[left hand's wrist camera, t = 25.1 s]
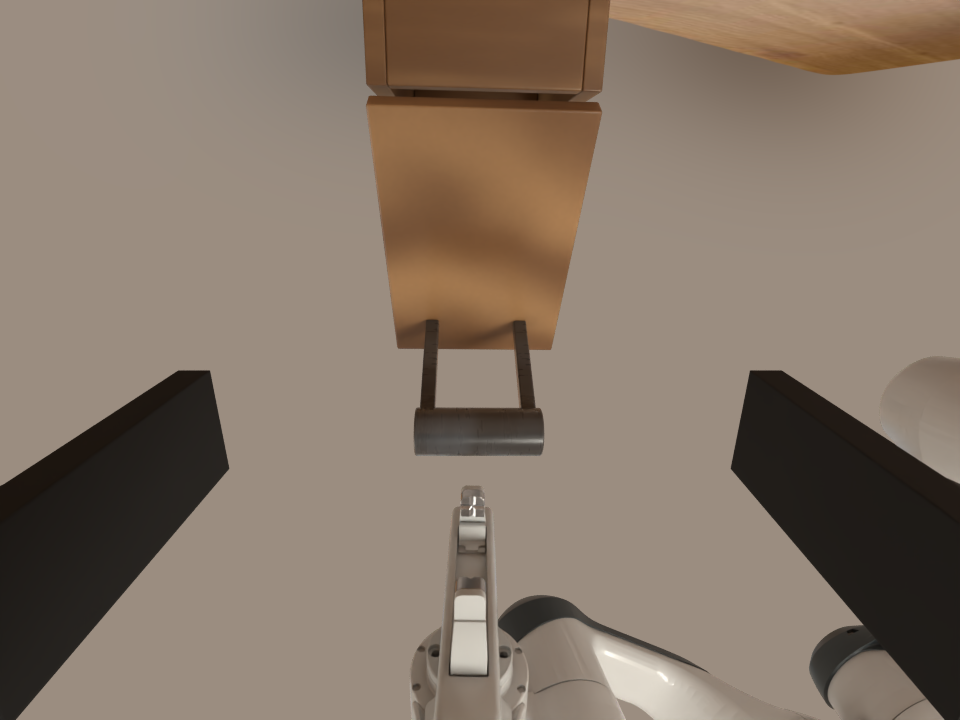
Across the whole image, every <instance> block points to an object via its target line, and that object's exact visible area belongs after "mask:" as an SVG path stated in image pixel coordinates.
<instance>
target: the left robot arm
mask: <svg viewBox="0 0 960 720" xmlns="http://www.w3.org/2000/svg"><path fill="white" fill-rule="evenodd" d="M228 470H229V465H228V460H227V455H226V450H225V445H224V440H223V434H222V429H221V424H220V419H219V414H218V409H217V404H216V399H215V394H214V389H213V384H212V379H211V374H210V371H177V372H175V373H174V374H172V375H171V376H169V377H168V378H166V379H165V380H163V381H162V382H160V383H158V384H157V385H155V386H154V387H152V388H151V389H149V390H148V391H146V392H145V393H143V394H142V395H140V396H139V397H137V398H135V399H134V400H132V401H131V402H129V403H128V404H126V405H125V406H123V407H122V408H120V409H119V410H117V411H116V412H114V413H113V414H111V415H109V416H108V417H106V418H105V419H103V420H102V421H100V422H99V423H97V424H96V425H94V426H92V427H91V428H89V429H88V430H86V431H85V432H83V433H82V434H80V435H79V436H77V437H76V438H74V439H73V440H71V441H70V442H68V443H66V444H65V445H63V446H62V447H60V448H59V449H57V450H56V451H54V452H53V453H51V454H50V455H48V456H46V457H45V458H43V459H42V460H40V461H39V462H37V463H36V464H34V465H33V466H31V467H30V468H28V469H27V470H25V471H23V472H22V473H20V474H19V475H17V476H16V477H14V478H13V479H11V480H10V481H8V482H7V483H5V484H3V485H1V486H0V720H16V719H17V718H18V716H19V715H20V714H21V713H22V712H23V710H24V709H25V708H26V707H27V706H28V705H29V703H30V702H31V701H32V700H33V699H34V698H35V696H36V695H37V694H38V693H39V692H40V690H41V689H42V688H43V687H44V686H45V685H46V683H47V682H48V681H49V680H50V679H51V678H52V676H53V675H54V674H55V673H56V672H57V671H58V669H59V668H60V667H61V666H62V665H63V663H64V662H65V661H66V660H67V659H68V658H69V656H70V655H71V654H72V653H73V652H74V651H75V649H76V648H77V647H78V646H79V645H80V643H81V642H82V641H83V640H84V639H85V638H86V636H87V635H88V634H89V633H90V632H91V631H92V629H93V628H94V627H95V626H96V625H97V624H98V622H99V621H100V620H101V619H102V618H103V616H104V615H105V614H106V613H107V612H108V611H109V609H110V608H111V607H112V606H113V605H114V604H115V602H116V601H117V600H118V599H119V598H120V596H121V595H122V594H123V593H124V592H125V591H126V589H127V588H128V587H129V586H130V585H131V584H132V582H133V581H134V580H135V579H136V578H137V577H138V575H139V574H140V573H141V572H142V571H143V569H144V568H145V567H146V566H147V565H148V564H149V562H150V561H151V560H152V559H153V558H154V557H155V555H156V554H157V553H158V552H159V551H160V549H161V548H162V547H163V546H164V545H165V544H166V542H167V541H168V540H169V539H170V538H171V537H172V535H173V534H174V533H175V532H176V531H177V529H178V528H179V527H180V526H181V525H182V524H183V522H184V521H185V520H186V519H187V518H188V517H189V515H190V514H191V513H192V512H193V511H194V510H195V508H196V507H197V506H198V505H199V504H200V502H201V501H202V500H203V499H204V498H205V497H206V495H207V494H208V493H209V492H210V491H211V490H212V488H213V487H214V486H215V485H216V484H217V482H218V481H219V480H220V479H221V478H222V477H223V475H224V474H225V473H226V472H227V471H228ZM731 470H732V471H733V472H734V473H735V474H736V475H737V477H738V478H739V479H740V480H741V481H742V482H743V484H744V485H745V486H746V487H747V488H748V490H749V491H750V492H751V493H752V494H753V495H754V497H755V498H756V499H757V500H758V501H759V502H760V504H761V505H762V506H763V507H764V508H765V510H766V511H767V512H768V513H769V514H770V515H771V517H772V518H773V519H774V520H775V521H776V522H777V524H778V525H779V526H780V527H781V528H782V529H783V531H784V532H785V533H786V534H787V535H788V537H789V538H790V539H791V540H792V541H793V542H794V544H795V545H796V546H797V547H798V548H799V549H800V551H801V552H802V553H803V554H804V555H805V557H806V558H807V559H808V560H809V561H810V562H811V564H812V565H813V566H814V567H815V568H816V569H817V571H818V572H819V573H820V574H821V575H822V577H823V578H824V579H825V580H826V581H827V582H828V584H829V585H830V586H831V587H832V588H833V589H834V591H835V592H836V593H837V594H838V595H839V596H840V598H841V599H842V600H843V601H844V602H845V604H846V605H847V606H848V607H849V608H850V609H851V611H852V612H853V613H854V614H855V615H856V616H857V618H858V619H859V620H860V621H861V622H862V624H863V625H864V626H865V627H866V628H867V629H868V631H869V632H870V633H871V634H872V635H873V636H874V638H875V639H876V640H877V641H878V642H879V643H880V645H881V646H882V647H883V648H884V649H885V651H886V652H887V653H888V654H889V655H890V656H891V658H892V659H893V660H894V661H895V662H896V663H897V665H898V666H899V667H900V668H901V669H902V671H903V672H904V673H905V674H906V675H907V676H908V678H909V679H910V680H911V681H912V682H913V683H914V685H915V686H916V687H917V688H918V689H919V691H920V692H921V693H922V694H923V695H924V696H925V698H926V699H927V700H928V701H929V702H930V703H931V705H932V706H933V707H934V708H935V709H936V710H937V712H938V713H939V714H940V715H941V716H942V718H943V719H944V720H960V484H959V483H957V482H955V481H953V480H950V479H948V478H946V477H944V476H943V475H941V474H940V473H938V472H937V471H935V470H933V469H932V468H930V467H929V466H927V465H926V464H924V463H923V462H921V461H920V460H918V459H917V458H915V457H914V456H912V455H910V454H909V453H907V452H906V451H904V450H903V449H901V448H900V447H898V446H897V445H895V444H894V443H892V442H891V441H889V440H887V439H886V438H884V437H883V436H881V435H880V434H878V433H877V432H875V431H874V430H872V429H870V428H869V427H868V426H866V425H864V424H863V423H861V422H860V421H858V420H857V419H855V418H854V417H852V416H851V415H849V414H848V413H846V412H844V411H843V410H841V409H840V408H838V407H837V406H835V405H834V404H832V403H831V402H829V401H828V400H826V399H825V398H823V397H821V396H820V395H818V394H817V393H815V392H814V391H812V390H811V389H809V388H808V387H806V386H804V385H803V384H802V383H800V382H798V381H797V380H795V379H794V378H792V377H791V376H789V375H788V374H786V373H785V372H783V371H750V374H749V379H748V384H747V389H746V394H745V399H744V404H743V409H742V414H741V419H740V424H739V430H738V435H737V440H736V445H735V450H734V455H733V460H732V465H731Z"/></svg>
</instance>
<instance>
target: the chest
mask: <svg viewBox="0 0 960 720" xmlns="http://www.w3.org/2000/svg"><path fill="white" fill-rule="evenodd" d="M362 2H363V23H364V43H365V65H366V84H367V85H368V86H369V88H371V90H372V91H373V92H374V93H375V94H376V95H377V96H398V97H432V98H466V99H501V100H535V101H569V102H586V101H587V100H589V99H591V98H592V97H594V96H595V95H597V94H599V93H600V92H601V91H602V85H603V74H604V62H605V51H606V40H607V29H608V18H609V7H610V0H362Z"/></svg>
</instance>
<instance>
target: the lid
mask: <svg viewBox="0 0 960 720" xmlns="http://www.w3.org/2000/svg"><path fill="white" fill-rule="evenodd" d="M366 109H367V117H368V125H369V132H370V140H371V148H372V155H373V163H374V171H375V178H376V186H377V194H378V202H379V209H380V217H381V224H382V232H383V240H384V248H385V255H386V263H387V271H388V278H389V286H390V294H391V301H392V309H393V317H394V324H395V332H396V340H397V347H398V348H399V349H424V358H423V373H422V388H421V402H420V408H416V410H415V418H414V451H415V455H416V456H540V455H541V454H542V451H543V446H544V421H543V414H542V411H541V409H540V408H536V407H535V398H534V389H533V381H532V371H531V363H530V354H529V350H551V348H552V343H553V338H554V334H555V329H556V325H557V320H558V315H559V311H560V306H561V301H562V297H563V292H564V287H565V283H566V278H567V273H568V269H569V264H570V259H571V255H572V250H573V246H574V241H575V236H576V232H577V227H578V222H579V218H580V213H581V208H582V204H583V199H584V194H585V190H586V185H587V181H588V176H589V171H590V167H591V162H592V157H593V153H594V148H595V143H596V139H597V134H598V129H599V125H600V120H601V115H602V110H601V108H600V105H599V103H597V102H569V101H535V100H501V99H466V98H432V97H398V96H369V98H368V101H367V104H366ZM438 349H504V350H514V352H515V363H516V375H517V386H518V397H519V408H436V387H437V364H438Z"/></svg>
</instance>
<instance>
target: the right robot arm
mask: <svg viewBox="0 0 960 720" xmlns="http://www.w3.org/2000/svg"><path fill="white" fill-rule="evenodd" d="M879 416H880V423H881V426H882V428H883V430H884V431H885V433H886V434H887V435H888V436H889V437H890V438H891V439H892V441H893V442H894V443H895V444H896V445H897V446H898V447H900V448H901V449H903V450H904V451H906V452H907V453H909V454H910V455H912V456H914V457H915V458H917V459H918V460H920V461H921V462H923V463H924V464H926V465H927V466H929V467H930V468H932V469H933V470H935V471H937V472H938V473H940V474H941V475H943V476H944V477H946V478H948V479H950V480H953V481H955V482H957V483H959V484H960V358H952V357H943V356H933V357H927V358H924V359H921V360H919V361H916V362H914V363H912V364H910V365H909V366H907V367H906V368H904V369H903V370H902V371H900V372H899V373H898V374H897V375H896V376H894V378H893V379H892V380H891V381H890V382H889V384H888V385H887V387H886V388H885V390H884V392H883V395H882V397H881V401H880V407H879ZM484 501H485V491H484V488H483V487H481V486H464V487H463V488H462V490H461V506H460V507H456V508H454V510H453V512H452V518H451V528H450V540H449V552H448V563H447V574H446V585H445V597H444V608H443V620H442V626H441V627H440V628H439V629H437V630H436V631H434V632H433V633H431V634H430V635H429V636H428V637H427V638H426V639H425V640H424V641H423V642H422V643H421V644H420V646H419V647H418V649H417V651H416V652H415V654H414V657H413V660H412V663H411V668H410V695H411V720H626V719H625V717H624V715H623V712H622V710H621V708H620V706H619V703H618V701H617V699H616V698H618V699H621V700H623V701H626V702H629V703H631V704H634V705H636V706H637V707H639V708H641V709H642V710H643V711H645V712H646V713H647V714H648V715H649V716H650V717H652V718H653V719H654V720H819V719H816V718H814V717H811V716H808V715H805V714H802V713H798V712H794V711H790V710H787V709H782V708H779V707H776V706H773V705H771V704H768V703H766V702H763V701H761V700H759V699H757V698H754V697H752V696H750V695H748V694H746V693H744V692H742V691H740V690H738V689H736V688H734V687H732V686H730V685H729V684H727V683H725V682H724V681H722V680H720V679H718V678H717V677H715V676H713V675H711V674H710V673H708V672H707V671H706V670H704V669H702V668H700V667H699V666H697V665H695V664H693V663H692V662H690V661H688V660H686V659H684V658H682V657H680V656H678V655H676V654H673V653H671V652H669V651H666V650H664V649H661V648H659V647H657V646H654V645H651V644H649V643H646V642H644V641H641V640H639V639H636V638H634V637H631V636H629V635H626V634H624V633H621V632H619V631H616V630H614V629H611V628H609V627H606V626H604V625H601V624H599V623H597V622H595V621H593V620H591V619H590V618H588V617H587V616H586V615H585V614H583V613H582V612H581V611H580V610H579V609H578V608H577V607H576V606H574V605H573V604H572V603H570V602H569V601H567V600H564V599H561V598H558V597H554V596H547V595H537V596H530V597H526V598H523V599H521V600H519V601H517V602H515V603H514V604H513V605H511V606H510V607H509V608H508V609H507V610H506V611H505V612H504V613H503V614H502V615H501V616H500V618H499V619H498V614H497V588H496V562H495V536H494V516H493V511H492V510H491V509H490V508H489V507H484ZM809 671H810V674H811V677H812V679H813V681H814V683H815V685H816V687H817V689H818V691H819V692H820V694H821V696H822V697H823V699H824V700H825V702H826V703H827V705H828V706H829V707H831V708H832V709H834V710H835V711H836V713H837V714H838V716H839V717H840V719H841V720H944V719H943V718H942V716H941V715H940V714H939V713H938V712H937V710H936V709H935V708H934V707H933V706H932V705H931V703H930V702H929V701H928V700H927V699H926V698H925V696H924V695H923V694H922V693H921V692H920V691H919V689H918V688H917V687H916V686H915V685H914V683H913V682H912V681H911V680H910V679H909V678H908V676H907V675H906V674H905V673H904V672H903V671H902V669H901V668H900V667H899V666H898V665H897V663H896V662H895V661H894V660H893V659H892V658H891V656H890V655H889V654H888V653H887V652H886V651H885V649H884V648H883V647H882V646H881V645H880V643H879V642H878V641H877V640H876V639H875V638H874V636H873V635H872V634H871V633H870V632H869V631H868V629H867V628H866V627H865V626H864V625H859V626H847V627H842V628H839V629H837V630H835V631H833V632H831V633H830V634H828V635H827V636H825V637H824V638H823V639H822V640H821V641H820V642H819V643H818V645H817V646H816V647H815V649H814V651H813V653H812V657H811V661H810V666H809Z"/></svg>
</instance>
